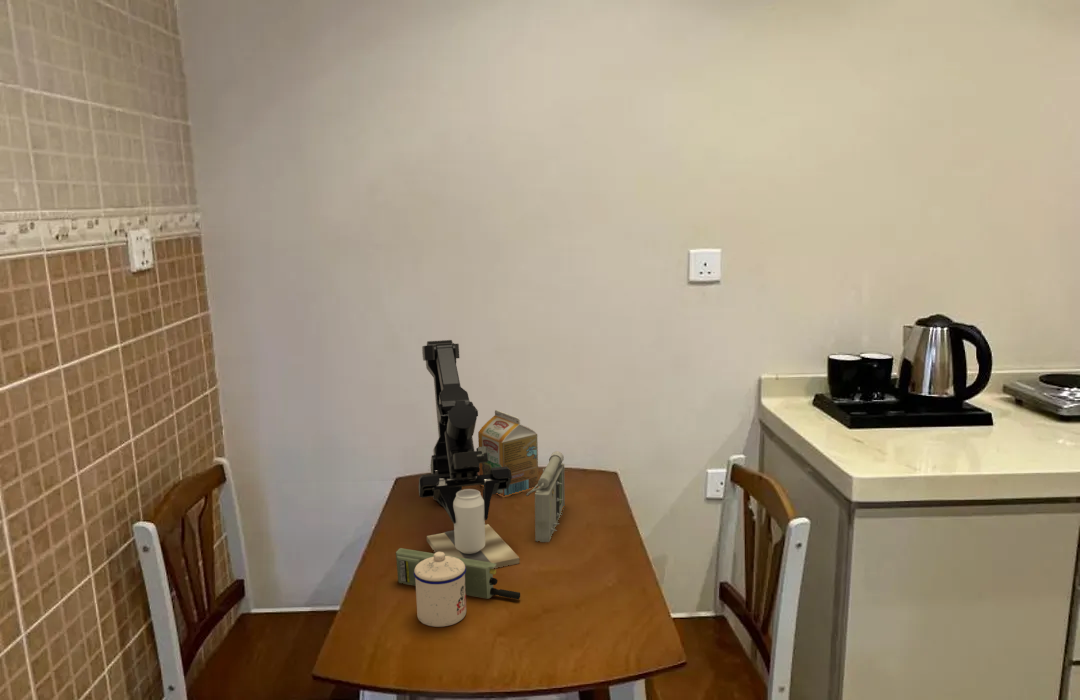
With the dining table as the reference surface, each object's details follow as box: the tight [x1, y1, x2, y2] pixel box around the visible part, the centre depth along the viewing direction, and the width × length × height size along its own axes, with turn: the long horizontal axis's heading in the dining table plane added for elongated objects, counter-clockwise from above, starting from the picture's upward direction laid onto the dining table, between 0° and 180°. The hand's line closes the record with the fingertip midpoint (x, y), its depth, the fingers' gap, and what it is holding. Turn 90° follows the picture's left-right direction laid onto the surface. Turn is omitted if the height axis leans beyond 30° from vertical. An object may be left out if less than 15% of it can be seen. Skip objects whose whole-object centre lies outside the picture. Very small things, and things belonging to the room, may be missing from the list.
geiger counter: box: [525, 450, 566, 543], centre depth 181 cm, size 14×6×25 cm
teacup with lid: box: [414, 552, 467, 628], centre depth 142 cm, size 12×9×12 cm
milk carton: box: [477, 409, 539, 496], centre depth 200 cm, size 11×11×19 cm
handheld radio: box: [395, 547, 521, 601], centre depth 150 cm, size 7×3×25 cm
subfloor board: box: [426, 523, 520, 569], centre depth 166 cm, size 18×14×1 cm
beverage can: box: [452, 488, 486, 554], centre depth 162 cm, size 6×6×12 cm
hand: (470, 521), depth 161 cm, fingers closed on beverage can, 6 cm apart
